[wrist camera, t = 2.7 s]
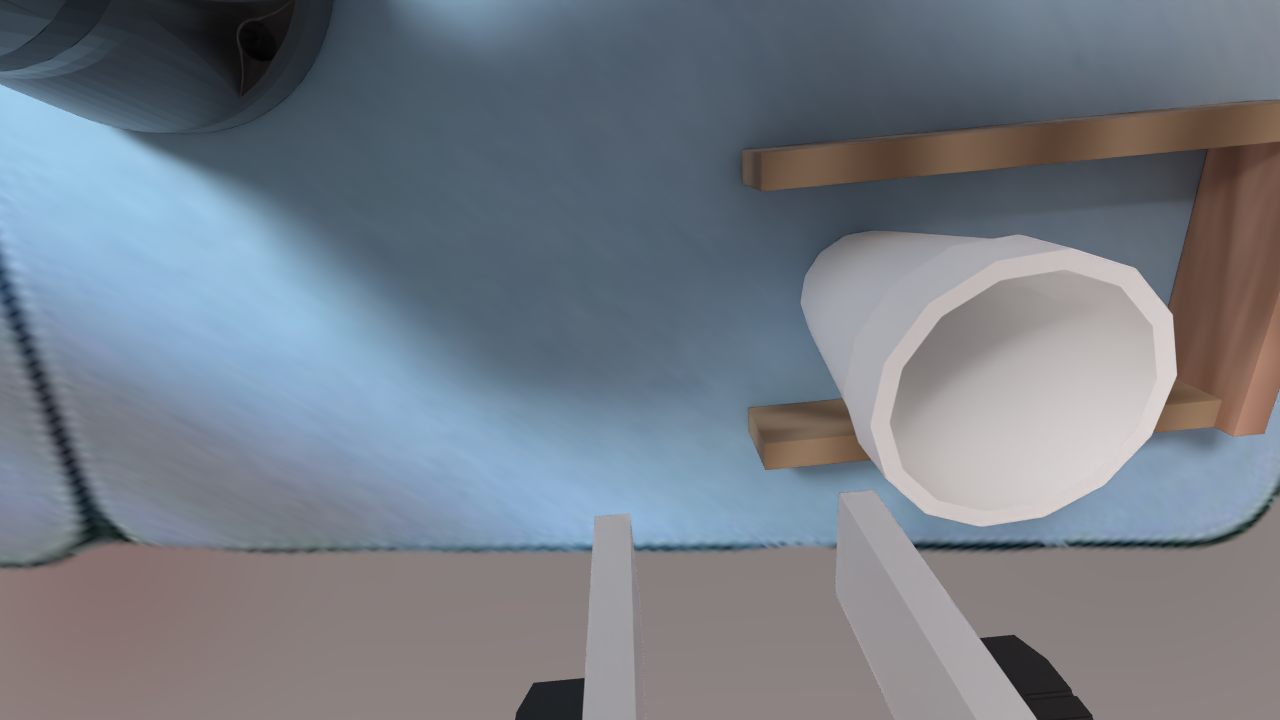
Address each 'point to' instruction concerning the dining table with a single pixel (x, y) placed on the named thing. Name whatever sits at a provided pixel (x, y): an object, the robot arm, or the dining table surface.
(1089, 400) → the foam cup
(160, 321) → the dining table surface
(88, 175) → the dining table surface
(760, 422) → the wooden frame
